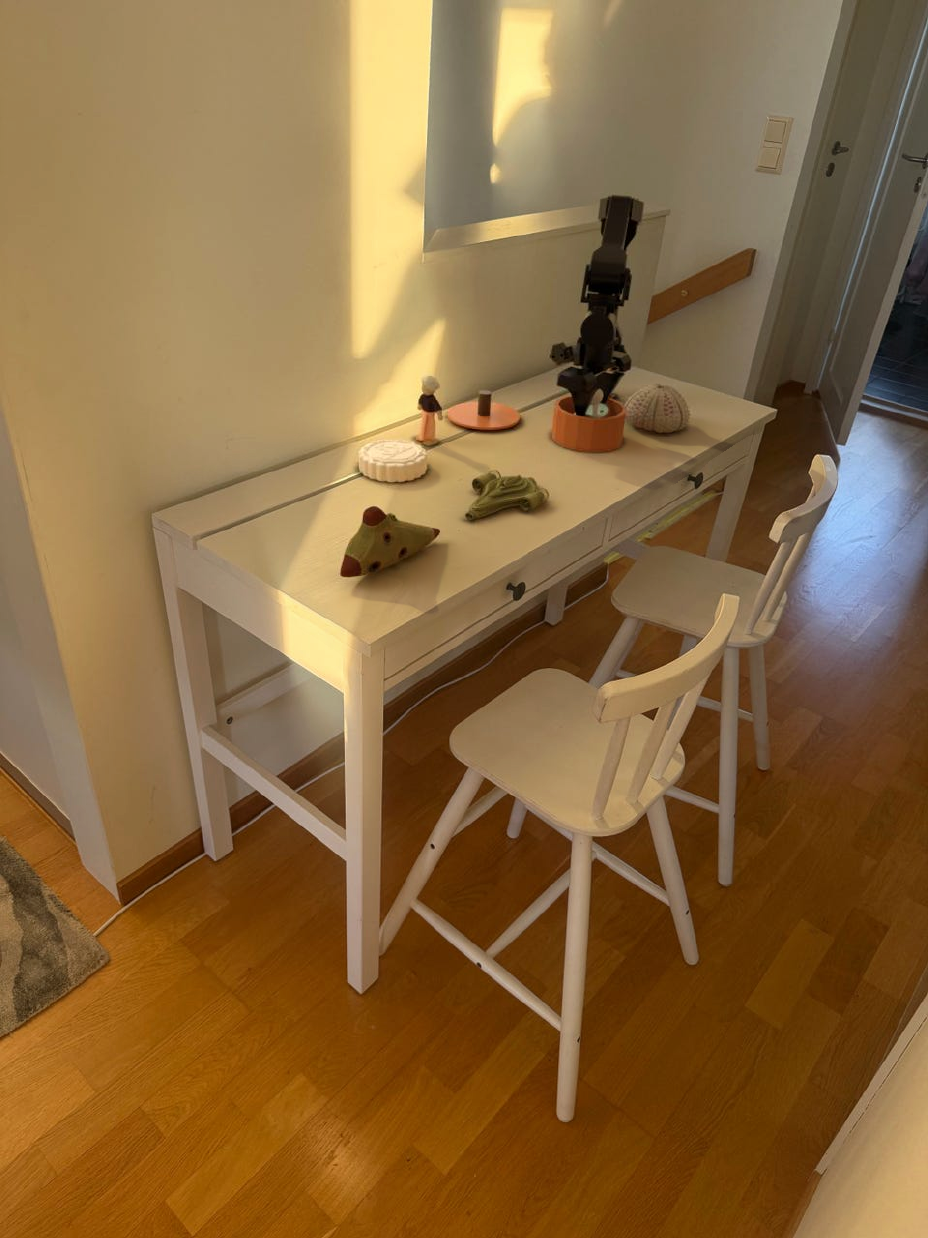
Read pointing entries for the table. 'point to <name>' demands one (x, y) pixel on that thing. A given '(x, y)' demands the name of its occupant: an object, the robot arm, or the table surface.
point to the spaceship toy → (504, 494)
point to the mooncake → (392, 460)
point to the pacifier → (596, 406)
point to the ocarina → (383, 543)
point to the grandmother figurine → (428, 410)
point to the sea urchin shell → (657, 409)
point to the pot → (588, 427)
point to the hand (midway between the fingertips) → (589, 414)
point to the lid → (483, 414)
